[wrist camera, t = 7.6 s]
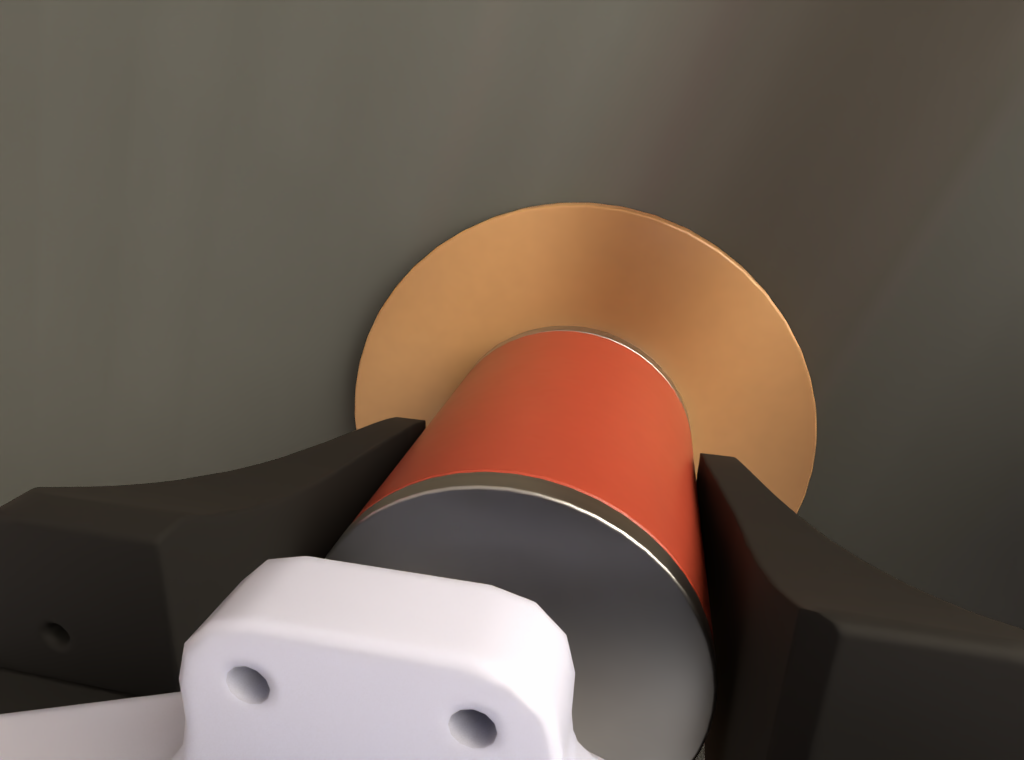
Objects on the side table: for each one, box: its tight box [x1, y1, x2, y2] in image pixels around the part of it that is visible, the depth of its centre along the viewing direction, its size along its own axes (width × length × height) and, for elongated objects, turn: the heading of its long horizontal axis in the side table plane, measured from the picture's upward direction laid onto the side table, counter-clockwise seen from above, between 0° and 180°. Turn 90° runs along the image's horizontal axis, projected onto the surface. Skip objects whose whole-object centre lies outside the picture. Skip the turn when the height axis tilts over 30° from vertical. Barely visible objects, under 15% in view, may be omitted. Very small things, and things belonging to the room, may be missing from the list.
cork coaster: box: [355, 203, 817, 514], centre depth 15 cm, size 10×10×1 cm
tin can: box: [325, 326, 718, 760], centre depth 12 cm, size 5×5×7 cm
